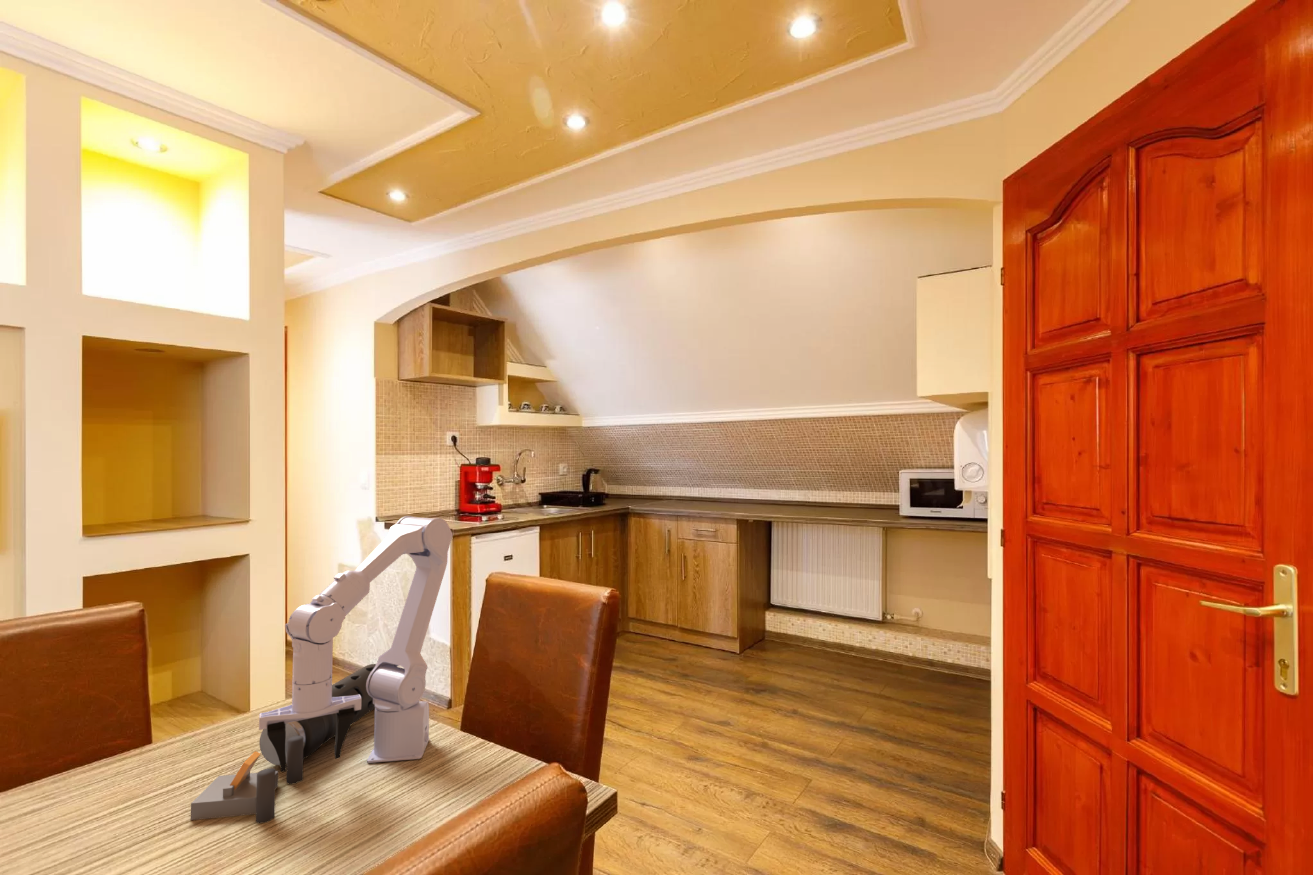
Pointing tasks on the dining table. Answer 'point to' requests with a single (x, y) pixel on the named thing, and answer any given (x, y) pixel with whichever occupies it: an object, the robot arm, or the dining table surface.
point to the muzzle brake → (323, 718)
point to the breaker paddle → (245, 769)
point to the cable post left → (265, 795)
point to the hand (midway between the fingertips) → (310, 762)
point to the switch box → (227, 798)
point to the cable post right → (294, 759)
